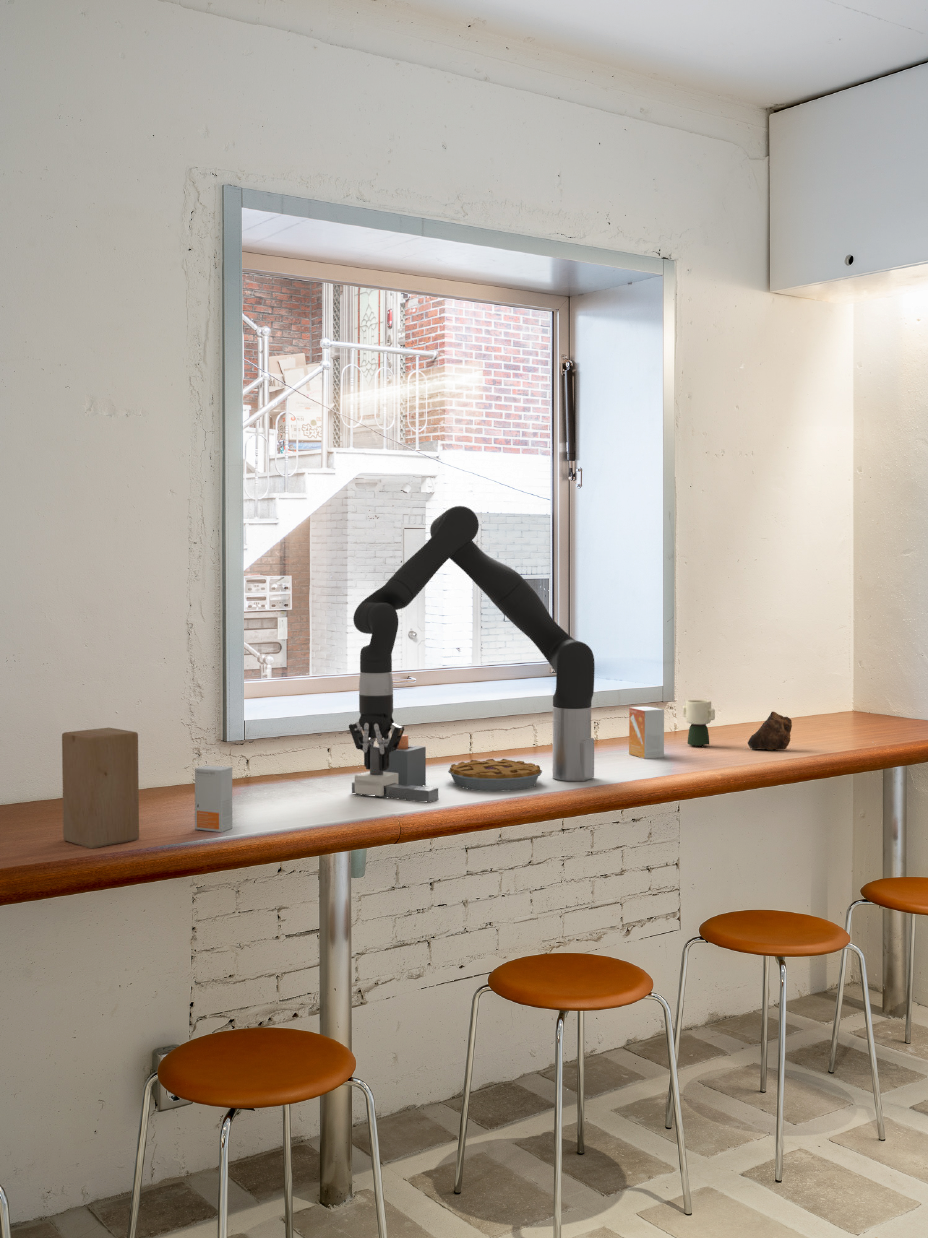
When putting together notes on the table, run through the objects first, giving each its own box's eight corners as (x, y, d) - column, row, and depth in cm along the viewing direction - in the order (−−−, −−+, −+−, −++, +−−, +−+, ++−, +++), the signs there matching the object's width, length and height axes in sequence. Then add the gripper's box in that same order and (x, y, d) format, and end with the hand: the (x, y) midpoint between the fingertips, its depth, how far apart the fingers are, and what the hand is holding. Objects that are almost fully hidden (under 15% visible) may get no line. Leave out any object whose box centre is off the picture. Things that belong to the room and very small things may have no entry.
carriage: (398, 790, 253) (398, 746, 252) (381, 796, 247) (381, 750, 246) (372, 788, 256) (372, 744, 256) (354, 793, 250) (354, 748, 250)
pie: (434, 780, 271) (434, 759, 271) (516, 773, 280) (516, 753, 279) (471, 796, 251) (471, 773, 251) (558, 789, 259) (558, 767, 259)
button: (410, 754, 262) (410, 735, 261) (403, 756, 259) (403, 737, 259) (399, 753, 263) (399, 734, 263) (392, 755, 260) (392, 736, 260)
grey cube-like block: (425, 785, 263) (425, 746, 262) (407, 791, 256) (407, 751, 255) (396, 782, 267) (396, 744, 266) (377, 787, 260) (377, 748, 259)
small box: (628, 754, 308) (628, 707, 308) (648, 753, 311) (648, 706, 310) (644, 759, 301) (644, 710, 300) (664, 757, 303) (664, 709, 303)
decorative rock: (790, 749, 319) (791, 711, 318) (793, 752, 313) (794, 713, 312) (747, 748, 320) (747, 710, 320) (749, 751, 314) (749, 712, 314)
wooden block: (90, 849, 201) (89, 737, 200) (62, 840, 208) (60, 732, 207) (140, 839, 208) (139, 731, 208) (111, 831, 215) (109, 727, 214)
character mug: (721, 747, 322) (722, 701, 321) (706, 749, 317) (707, 703, 317) (690, 743, 330) (690, 698, 329) (675, 745, 325) (675, 700, 325)
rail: (438, 799, 246) (438, 788, 246) (428, 802, 243) (428, 791, 242) (362, 791, 256) (361, 780, 256) (351, 794, 252) (351, 782, 252)
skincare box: (194, 830, 216) (193, 768, 216) (206, 825, 220) (206, 764, 220) (221, 833, 214) (220, 770, 214) (233, 828, 218) (233, 766, 217)
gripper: (412, 692, 250) (412, 769, 251) (359, 689, 257) (359, 764, 258) (393, 695, 244) (394, 775, 245) (340, 692, 251) (340, 769, 251)
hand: (376, 769), depth 251 cm, fingers closed on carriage, 3 cm apart
